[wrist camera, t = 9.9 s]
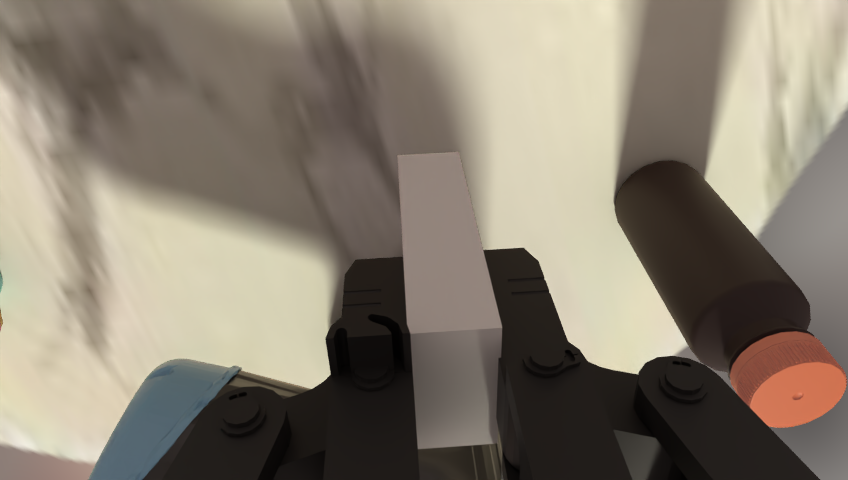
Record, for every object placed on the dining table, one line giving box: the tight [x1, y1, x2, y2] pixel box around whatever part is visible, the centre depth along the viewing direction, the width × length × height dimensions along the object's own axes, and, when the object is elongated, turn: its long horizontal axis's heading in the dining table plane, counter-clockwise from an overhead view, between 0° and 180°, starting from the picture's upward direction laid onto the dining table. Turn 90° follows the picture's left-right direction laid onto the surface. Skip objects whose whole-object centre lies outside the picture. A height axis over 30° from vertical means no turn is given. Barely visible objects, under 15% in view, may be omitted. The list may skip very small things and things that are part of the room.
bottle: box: [615, 161, 847, 428], centre depth 41 cm, size 7×7×20 cm
